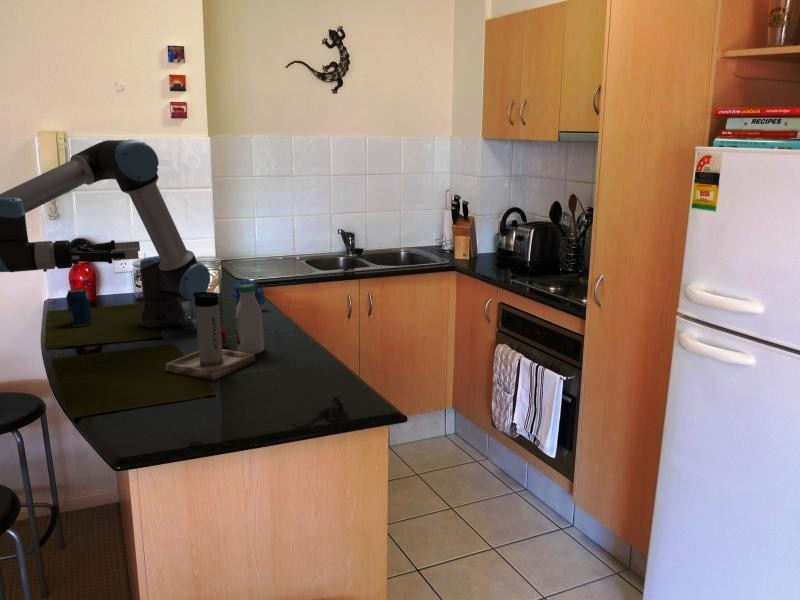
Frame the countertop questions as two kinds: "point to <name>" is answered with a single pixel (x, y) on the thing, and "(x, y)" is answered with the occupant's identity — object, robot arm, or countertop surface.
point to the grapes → (258, 292)
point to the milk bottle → (249, 322)
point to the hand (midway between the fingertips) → (139, 249)
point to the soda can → (78, 307)
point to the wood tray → (194, 368)
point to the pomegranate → (223, 335)
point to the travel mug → (208, 328)
